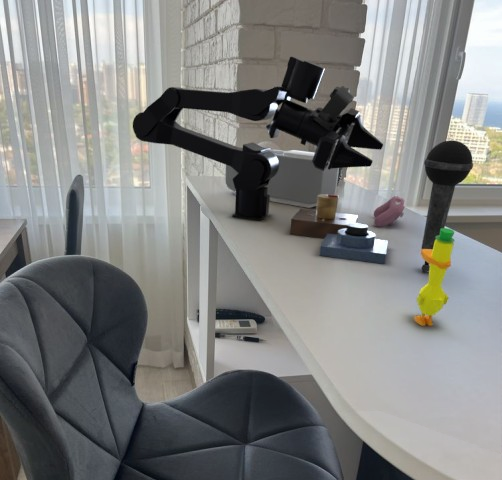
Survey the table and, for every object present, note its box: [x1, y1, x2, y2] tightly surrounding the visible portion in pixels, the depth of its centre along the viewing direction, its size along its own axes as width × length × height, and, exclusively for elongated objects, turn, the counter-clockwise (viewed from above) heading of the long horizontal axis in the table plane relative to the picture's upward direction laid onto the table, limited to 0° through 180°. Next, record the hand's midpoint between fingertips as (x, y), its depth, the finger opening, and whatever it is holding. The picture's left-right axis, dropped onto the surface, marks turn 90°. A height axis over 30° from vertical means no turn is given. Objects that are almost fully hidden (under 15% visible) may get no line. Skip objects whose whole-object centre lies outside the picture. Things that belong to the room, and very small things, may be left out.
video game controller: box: [373, 195, 405, 228], centre depth 110 cm, size 10×5×7 cm, turn 168°
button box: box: [319, 228, 389, 264], centre depth 89 cm, size 11×9×4 cm
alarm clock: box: [224, 148, 340, 209], centre depth 127 cm, size 27×9×12 cm, turn 58°
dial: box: [315, 194, 339, 219], centre depth 99 cm, size 4×4×4 cm
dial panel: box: [289, 208, 359, 239], centre depth 101 cm, size 12×10×3 cm
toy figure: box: [413, 227, 455, 327], centre depth 61 cm, size 7×4×12 cm, turn 9°
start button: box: [346, 222, 369, 236], centre depth 88 cm, size 4×4×2 cm
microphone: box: [420, 139, 474, 273], centre depth 77 cm, size 7×7×20 cm
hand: (377, 155), depth 97 cm, fingers open, 9 cm apart
